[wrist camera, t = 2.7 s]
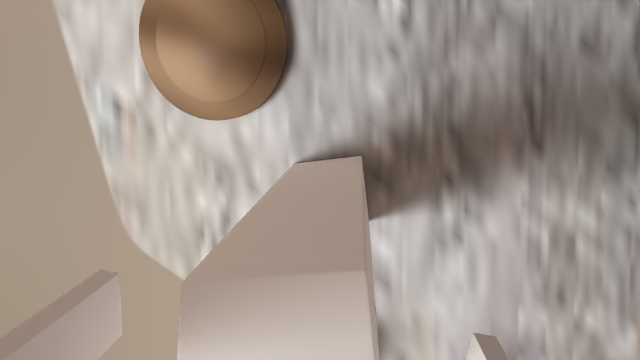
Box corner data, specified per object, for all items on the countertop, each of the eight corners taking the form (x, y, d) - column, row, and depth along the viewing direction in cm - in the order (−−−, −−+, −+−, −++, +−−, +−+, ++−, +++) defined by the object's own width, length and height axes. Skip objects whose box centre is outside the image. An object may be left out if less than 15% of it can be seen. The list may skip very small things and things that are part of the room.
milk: (293, 163, 29) (102, 351, 8) (363, 154, 28) (369, 342, 7) (303, 228, 30) (166, 542, 9) (370, 222, 29) (395, 556, 8)
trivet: (143, -46, 26) (136, -51, 25) (294, -32, 25) (291, -36, 24) (146, 110, 29) (140, 110, 28) (280, 128, 28) (278, 129, 27)
